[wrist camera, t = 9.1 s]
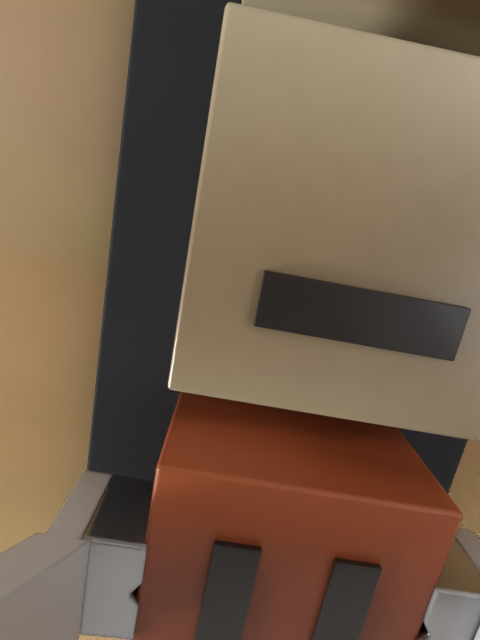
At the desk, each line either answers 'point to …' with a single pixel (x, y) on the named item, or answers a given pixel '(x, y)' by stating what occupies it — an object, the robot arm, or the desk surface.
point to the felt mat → (166, 240)
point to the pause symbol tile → (289, 528)
